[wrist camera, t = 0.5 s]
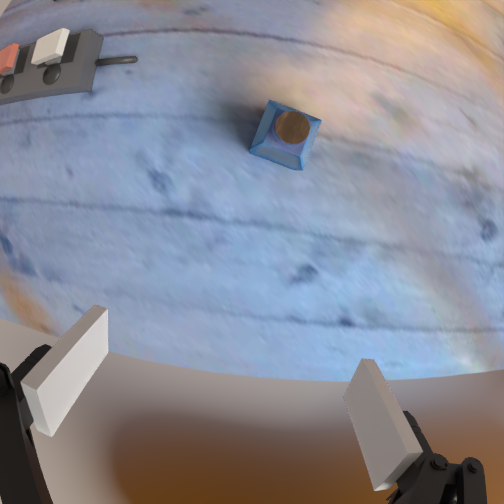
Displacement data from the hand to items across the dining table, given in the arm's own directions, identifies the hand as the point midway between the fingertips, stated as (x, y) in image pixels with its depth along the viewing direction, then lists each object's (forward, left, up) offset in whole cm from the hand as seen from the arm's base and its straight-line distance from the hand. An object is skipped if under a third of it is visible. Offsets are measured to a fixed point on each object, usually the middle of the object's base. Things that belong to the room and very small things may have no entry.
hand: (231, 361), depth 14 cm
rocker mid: (-25, -41, -22) cm, 53 cm away
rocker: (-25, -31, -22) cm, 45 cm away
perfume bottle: (-13, +3, -28) cm, 31 cm away
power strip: (-23, -38, -27) cm, 52 cm away
